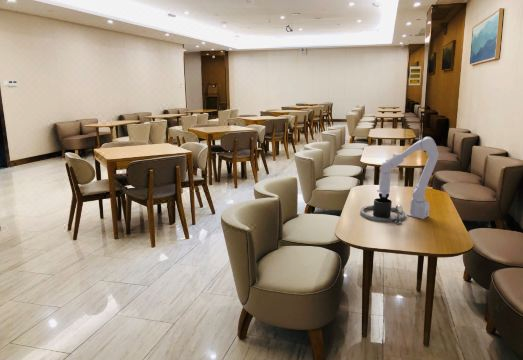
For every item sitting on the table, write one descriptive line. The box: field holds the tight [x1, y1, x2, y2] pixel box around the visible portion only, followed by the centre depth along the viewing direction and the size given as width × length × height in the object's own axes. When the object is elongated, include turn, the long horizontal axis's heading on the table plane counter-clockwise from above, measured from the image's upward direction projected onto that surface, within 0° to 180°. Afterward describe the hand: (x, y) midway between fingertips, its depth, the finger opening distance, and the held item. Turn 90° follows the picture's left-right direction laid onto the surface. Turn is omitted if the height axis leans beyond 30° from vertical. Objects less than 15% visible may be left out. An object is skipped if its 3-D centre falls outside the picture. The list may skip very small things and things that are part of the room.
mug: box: [372, 197, 393, 218], centre depth 228 cm, size 9×12×9 cm
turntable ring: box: [359, 204, 406, 223], centre depth 230 cm, size 24×24×2 cm
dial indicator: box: [393, 204, 404, 226], centre depth 216 cm, size 5×3×10 cm, turn 16°
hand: (383, 206), depth 235 cm, fingers closed
